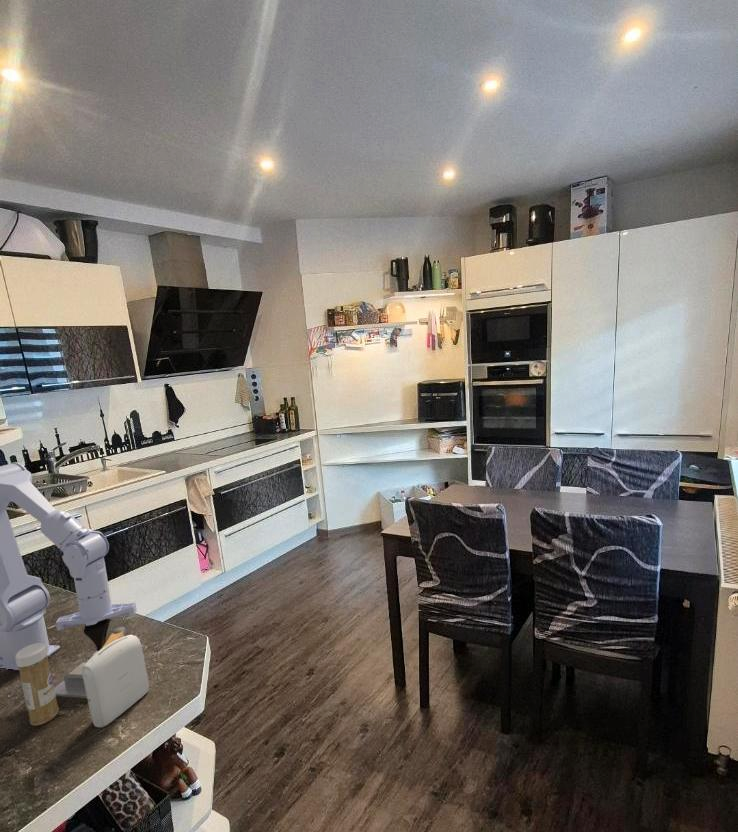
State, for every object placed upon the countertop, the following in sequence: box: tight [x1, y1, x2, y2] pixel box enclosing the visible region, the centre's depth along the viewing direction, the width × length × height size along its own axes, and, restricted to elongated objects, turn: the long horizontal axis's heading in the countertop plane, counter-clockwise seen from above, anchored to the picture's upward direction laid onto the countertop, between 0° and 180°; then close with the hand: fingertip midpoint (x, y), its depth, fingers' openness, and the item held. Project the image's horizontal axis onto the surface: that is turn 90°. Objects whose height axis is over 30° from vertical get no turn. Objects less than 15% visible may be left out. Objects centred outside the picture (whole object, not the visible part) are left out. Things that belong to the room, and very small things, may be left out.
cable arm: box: [103, 626, 127, 648], centre depth 96 cm, size 13×2×2 cm, turn 9°
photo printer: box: [82, 634, 150, 728], centre depth 83 cm, size 10×4×12 cm, turn 154°
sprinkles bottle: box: [15, 643, 60, 727], centre depth 83 cm, size 5×5×13 cm
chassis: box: [54, 644, 145, 699], centre depth 96 cm, size 10×16×3 cm, turn 168°
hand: (103, 652), depth 97 cm, fingers closed, pressing on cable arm
